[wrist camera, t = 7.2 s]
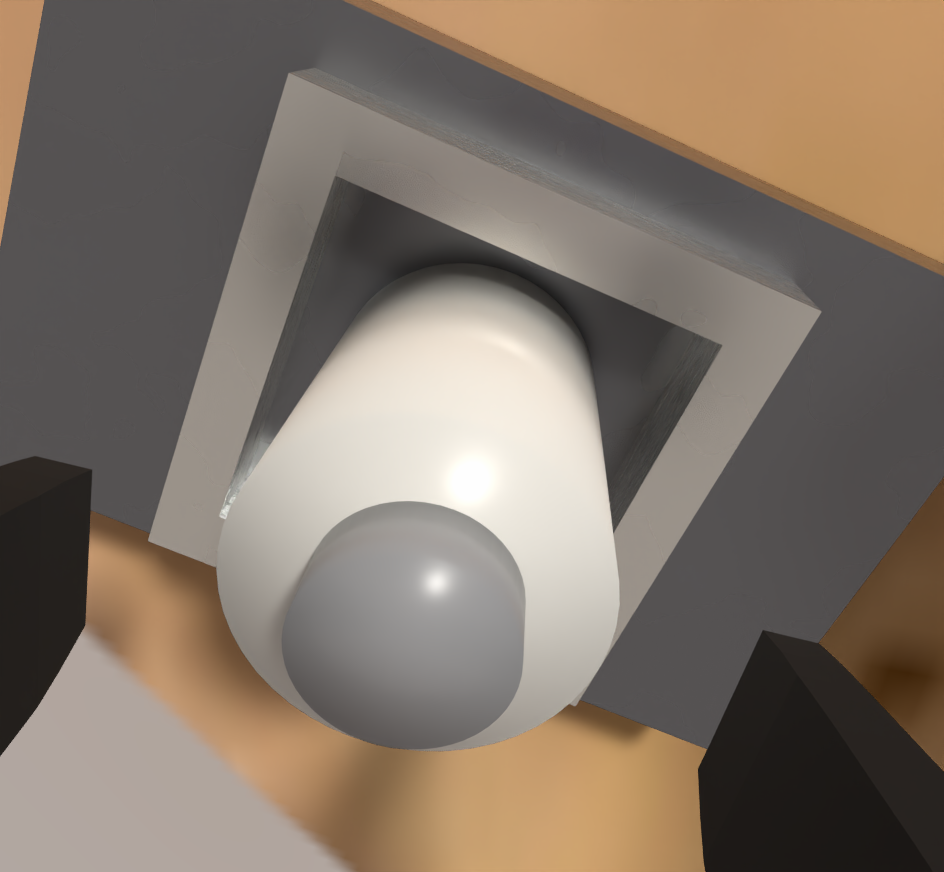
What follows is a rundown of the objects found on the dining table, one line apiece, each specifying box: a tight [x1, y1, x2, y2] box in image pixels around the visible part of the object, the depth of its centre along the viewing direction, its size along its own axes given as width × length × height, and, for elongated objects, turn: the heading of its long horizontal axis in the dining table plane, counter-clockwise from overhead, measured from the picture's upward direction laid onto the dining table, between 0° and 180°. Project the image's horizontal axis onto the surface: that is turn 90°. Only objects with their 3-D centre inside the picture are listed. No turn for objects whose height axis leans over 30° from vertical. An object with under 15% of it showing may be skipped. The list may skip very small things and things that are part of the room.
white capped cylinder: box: [216, 263, 620, 751], centre depth 12 cm, size 4×4×7 cm
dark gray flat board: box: [0, 0, 944, 749], centre depth 16 cm, size 16×10×4 cm, turn 67°
